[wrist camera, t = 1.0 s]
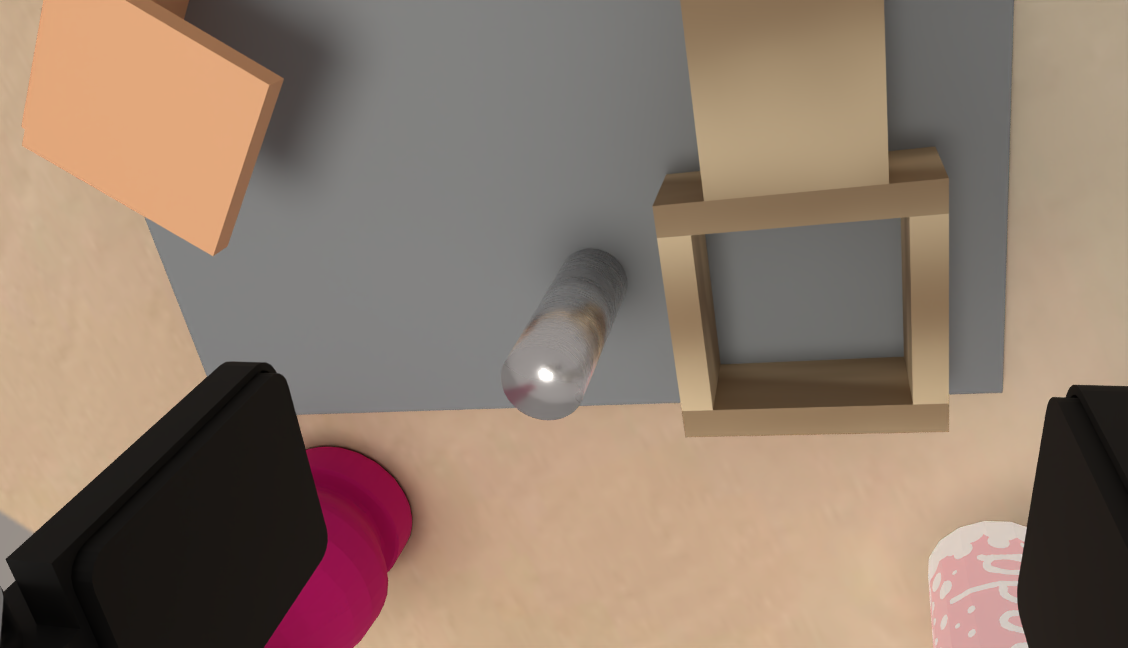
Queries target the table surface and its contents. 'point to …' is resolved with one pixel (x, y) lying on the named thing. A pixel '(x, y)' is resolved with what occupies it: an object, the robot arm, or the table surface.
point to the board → (557, 200)
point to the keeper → (149, 111)
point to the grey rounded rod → (565, 336)
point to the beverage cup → (977, 587)
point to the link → (801, 213)
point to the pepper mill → (348, 552)
